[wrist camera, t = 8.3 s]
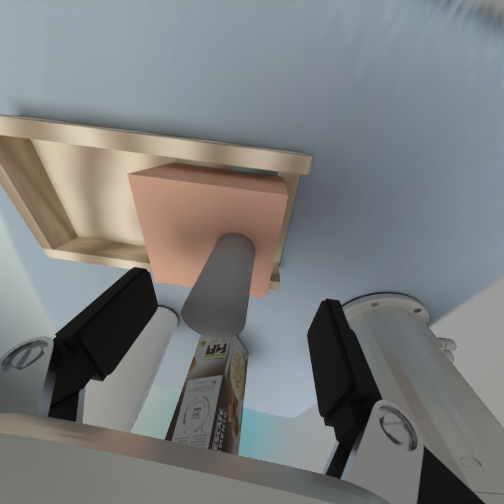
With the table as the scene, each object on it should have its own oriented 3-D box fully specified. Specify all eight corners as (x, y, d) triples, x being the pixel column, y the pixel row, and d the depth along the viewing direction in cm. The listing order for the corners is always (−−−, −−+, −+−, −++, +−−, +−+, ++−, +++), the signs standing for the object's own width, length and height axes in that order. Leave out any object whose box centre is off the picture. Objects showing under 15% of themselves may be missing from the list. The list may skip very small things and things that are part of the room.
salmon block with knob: (282, 177, 16) (303, 246, 6) (267, 259, 21) (263, 373, 11) (172, 162, 16) (4, 204, 6) (183, 247, 21) (101, 348, 11)
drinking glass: (136, 307, 30) (38, 429, 17) (165, 297, 28) (78, 428, 15) (163, 330, 33) (96, 448, 20) (191, 322, 31) (136, 449, 18)
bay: (303, 152, 16) (312, 156, 12) (276, 267, 23) (277, 290, 19) (19, 115, 16) (-47, 110, 13) (79, 239, 23) (47, 257, 20)
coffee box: (200, 331, 32) (149, 470, 19) (232, 327, 31) (202, 476, 17) (221, 357, 37) (192, 485, 23) (250, 355, 35) (237, 491, 22)
